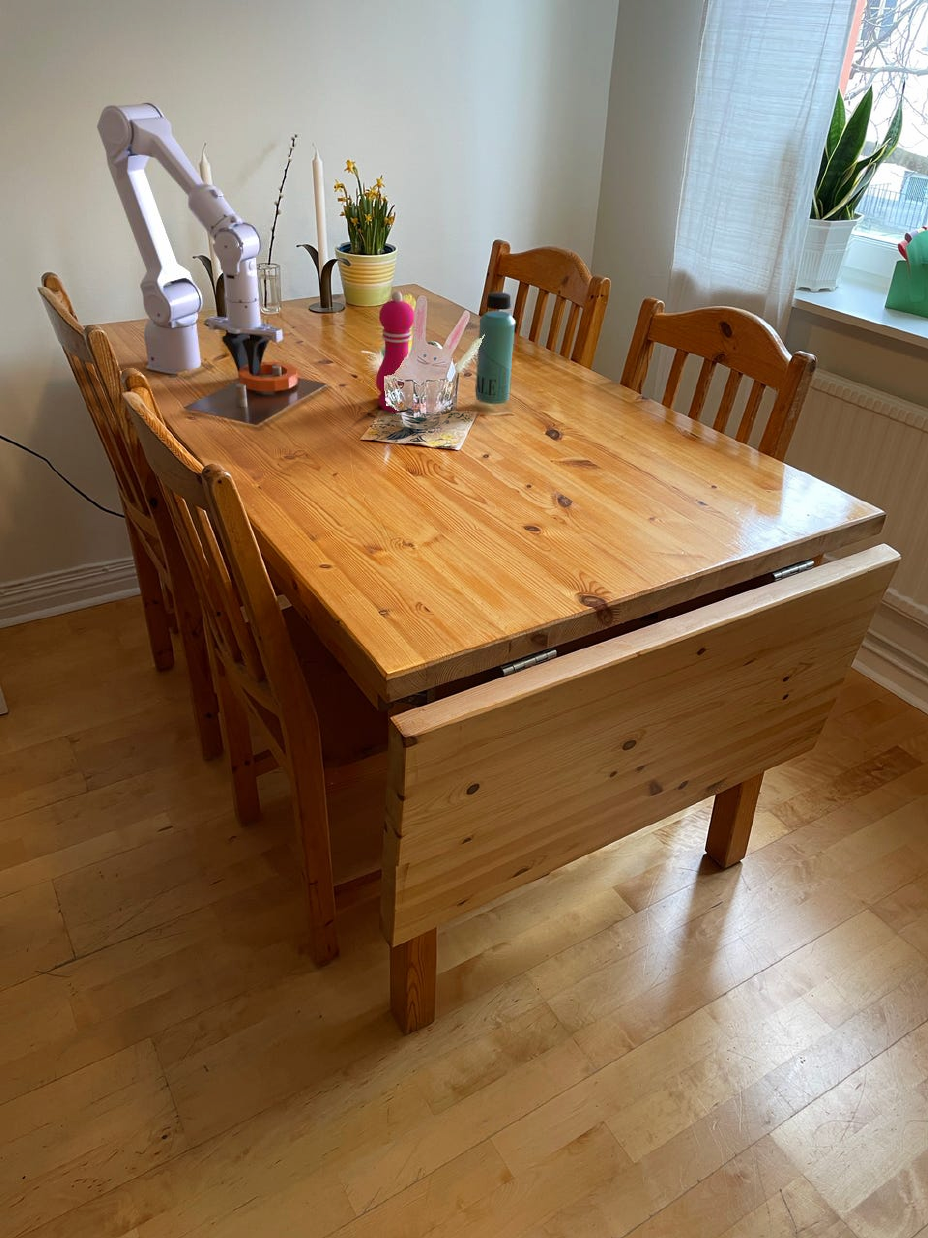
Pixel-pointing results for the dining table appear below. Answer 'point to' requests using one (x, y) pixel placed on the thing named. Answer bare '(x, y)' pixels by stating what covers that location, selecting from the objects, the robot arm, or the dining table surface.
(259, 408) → the peg board
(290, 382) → the ring
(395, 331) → the pepper mill
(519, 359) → the dining table surface
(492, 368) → the beverage bottle
